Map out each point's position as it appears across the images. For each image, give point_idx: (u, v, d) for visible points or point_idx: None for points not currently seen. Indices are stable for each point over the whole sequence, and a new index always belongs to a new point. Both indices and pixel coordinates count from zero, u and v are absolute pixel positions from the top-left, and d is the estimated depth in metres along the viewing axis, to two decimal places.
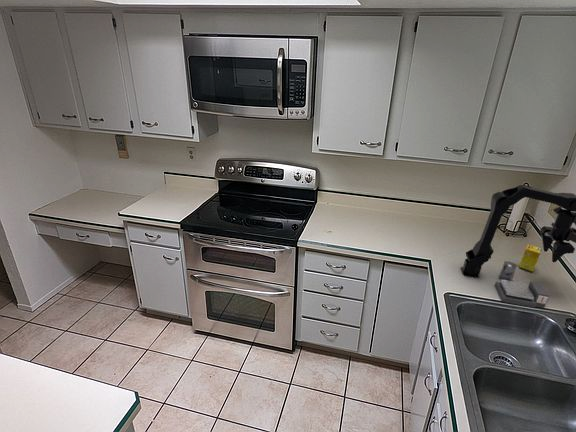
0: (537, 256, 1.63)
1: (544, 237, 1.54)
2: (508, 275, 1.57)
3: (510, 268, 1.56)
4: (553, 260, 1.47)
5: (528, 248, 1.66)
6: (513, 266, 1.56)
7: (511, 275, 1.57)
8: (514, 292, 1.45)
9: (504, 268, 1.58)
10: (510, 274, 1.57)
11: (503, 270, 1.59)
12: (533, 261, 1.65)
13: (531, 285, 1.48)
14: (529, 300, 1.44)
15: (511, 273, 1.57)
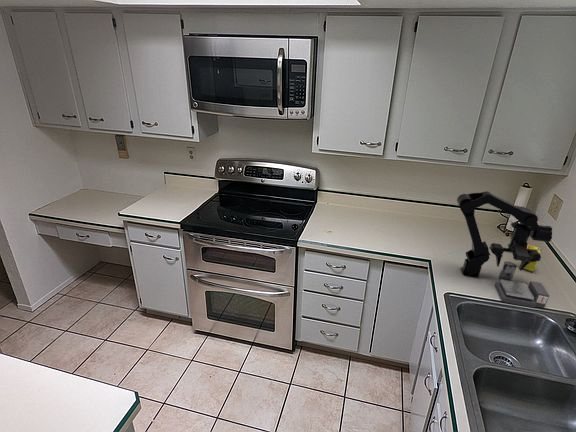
0: None
1: None
2: (508, 275, 1.57)
3: (510, 268, 1.56)
4: None
5: (528, 248, 1.66)
6: (513, 266, 1.56)
7: (511, 275, 1.57)
8: (514, 292, 1.45)
9: (504, 268, 1.58)
10: (510, 274, 1.57)
11: (503, 270, 1.59)
12: None
13: (531, 285, 1.48)
14: (529, 300, 1.44)
15: (511, 273, 1.57)
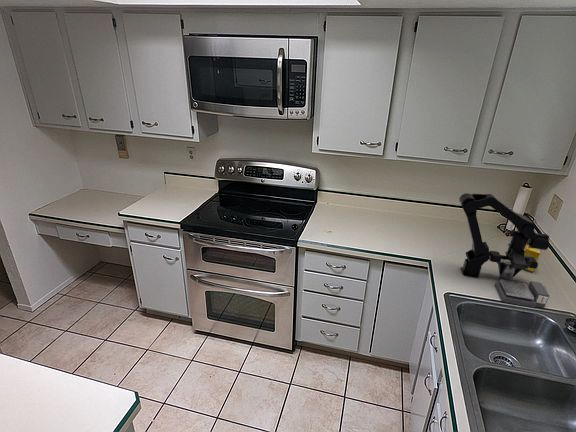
0: (537, 256, 1.63)
1: None
2: (508, 275, 1.57)
3: (510, 268, 1.56)
4: (499, 271, 1.61)
5: (528, 248, 1.66)
6: None
7: (511, 275, 1.57)
8: (514, 292, 1.45)
9: (504, 268, 1.58)
10: (510, 274, 1.57)
11: (503, 270, 1.59)
12: None
13: (531, 285, 1.48)
14: (529, 300, 1.44)
15: (511, 273, 1.57)
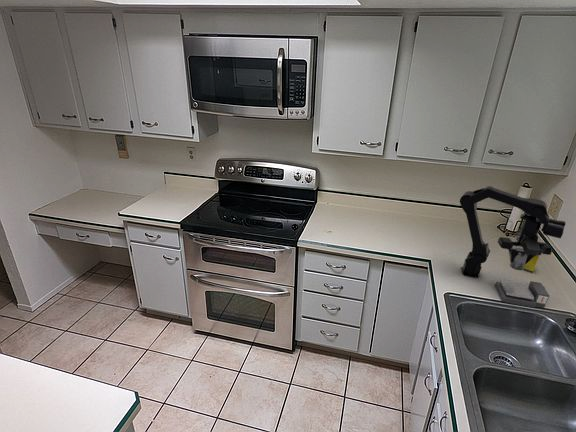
0: (537, 256, 1.63)
1: None
2: (520, 263, 1.48)
3: (522, 255, 1.47)
4: (510, 259, 1.52)
5: None
6: None
7: (523, 262, 1.48)
8: (514, 292, 1.45)
9: (516, 255, 1.49)
10: (522, 261, 1.48)
11: (515, 257, 1.49)
12: (533, 261, 1.65)
13: (531, 285, 1.48)
14: (529, 300, 1.44)
15: (523, 260, 1.48)
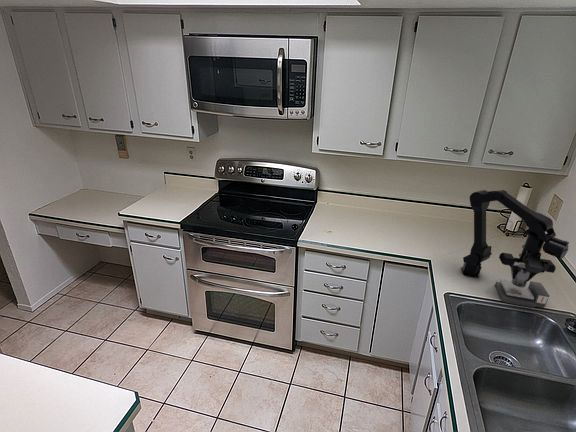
0: None
1: None
2: (522, 280, 1.43)
3: (524, 272, 1.42)
4: None
5: None
6: None
7: (525, 279, 1.43)
8: (514, 292, 1.45)
9: (518, 272, 1.44)
10: (524, 278, 1.43)
11: (516, 274, 1.45)
12: None
13: (531, 285, 1.48)
14: (529, 300, 1.44)
15: (525, 277, 1.43)
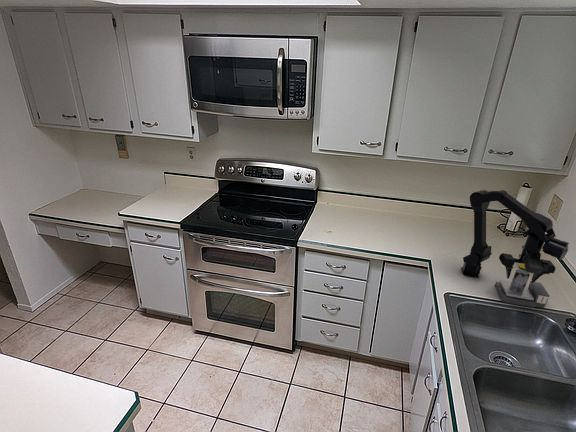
0: None
1: None
2: (520, 285, 1.44)
3: (522, 277, 1.43)
4: None
5: None
6: (526, 275, 1.43)
7: (523, 285, 1.44)
8: (514, 293, 1.45)
9: (516, 277, 1.45)
10: (522, 284, 1.44)
11: (515, 279, 1.46)
12: None
13: (531, 285, 1.48)
14: (529, 300, 1.44)
15: (523, 282, 1.44)
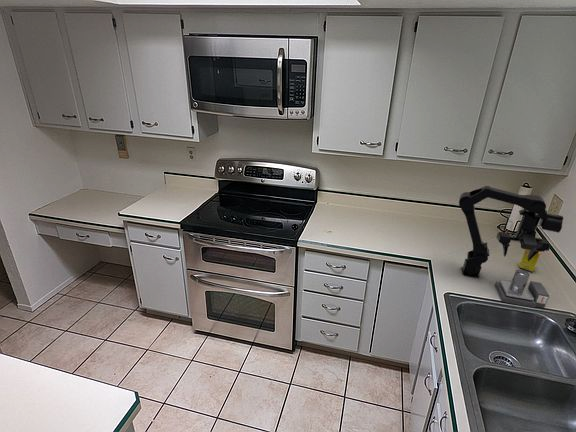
0: (537, 256, 1.63)
1: None
2: (520, 285, 1.44)
3: (522, 277, 1.43)
4: (503, 253, 1.54)
5: None
6: (526, 275, 1.43)
7: (523, 285, 1.44)
8: (514, 293, 1.45)
9: (516, 277, 1.45)
10: (522, 283, 1.44)
11: (515, 279, 1.46)
12: (533, 261, 1.65)
13: (531, 285, 1.48)
14: (529, 300, 1.44)
15: (523, 282, 1.44)
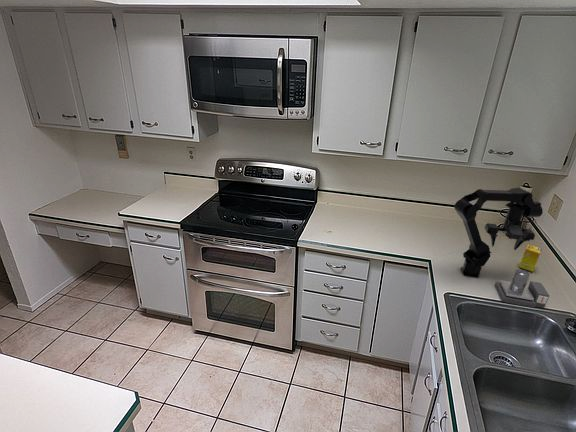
0: (537, 256, 1.63)
1: None
2: (520, 285, 1.44)
3: (522, 277, 1.43)
4: (491, 243, 1.62)
5: (528, 248, 1.66)
6: (526, 275, 1.43)
7: (523, 285, 1.44)
8: (514, 293, 1.45)
9: (516, 277, 1.45)
10: (522, 284, 1.44)
11: (515, 279, 1.46)
12: (533, 261, 1.65)
13: (531, 285, 1.48)
14: (529, 300, 1.44)
15: (523, 282, 1.44)
